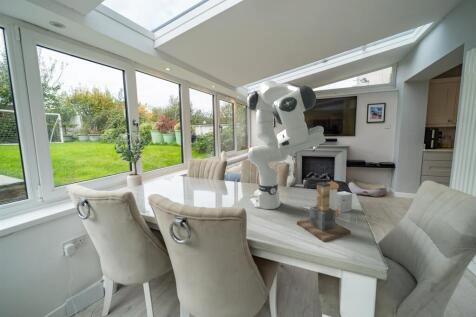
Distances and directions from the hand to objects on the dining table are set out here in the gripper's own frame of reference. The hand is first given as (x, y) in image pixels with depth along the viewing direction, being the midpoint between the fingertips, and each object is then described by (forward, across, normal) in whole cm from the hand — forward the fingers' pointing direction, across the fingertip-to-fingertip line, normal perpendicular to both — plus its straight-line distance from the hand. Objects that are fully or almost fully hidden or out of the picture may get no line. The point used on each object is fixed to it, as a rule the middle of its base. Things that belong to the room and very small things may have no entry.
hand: (304, 153), depth 93 cm
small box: (+50, -10, +7) cm, 51 cm away
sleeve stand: (+29, +3, +24) cm, 38 cm away
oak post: (+28, +3, +23) cm, 36 cm away
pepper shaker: (+44, -3, +11) cm, 45 cm away
